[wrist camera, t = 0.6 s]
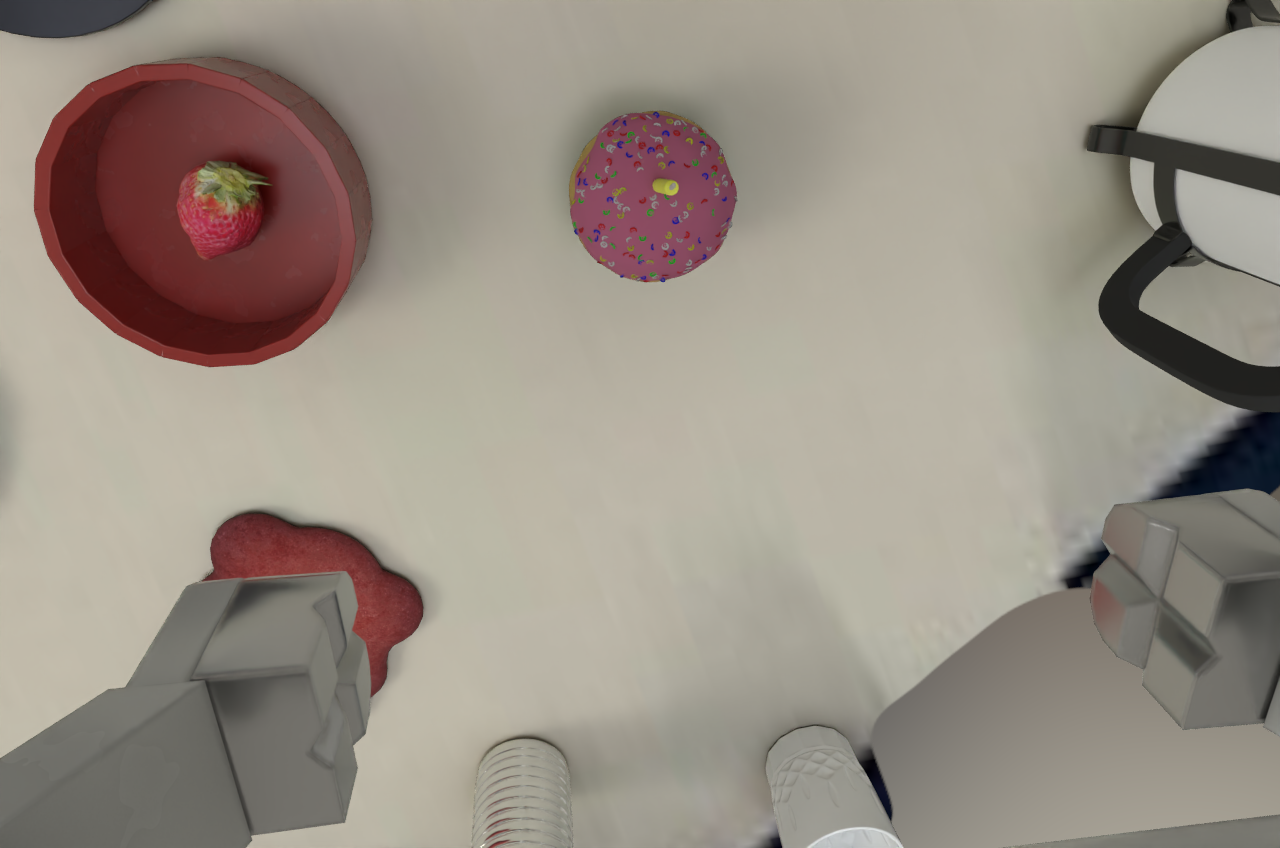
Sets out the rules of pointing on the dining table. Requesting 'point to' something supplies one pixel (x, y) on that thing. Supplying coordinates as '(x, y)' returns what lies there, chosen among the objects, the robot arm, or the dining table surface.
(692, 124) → the cupcake
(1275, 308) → the dining table surface
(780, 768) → the white cup
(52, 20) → the pan lid
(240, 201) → the fruit
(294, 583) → the robot arm
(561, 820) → the water bottle
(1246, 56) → the coffee press
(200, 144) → the pan
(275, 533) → the patty
